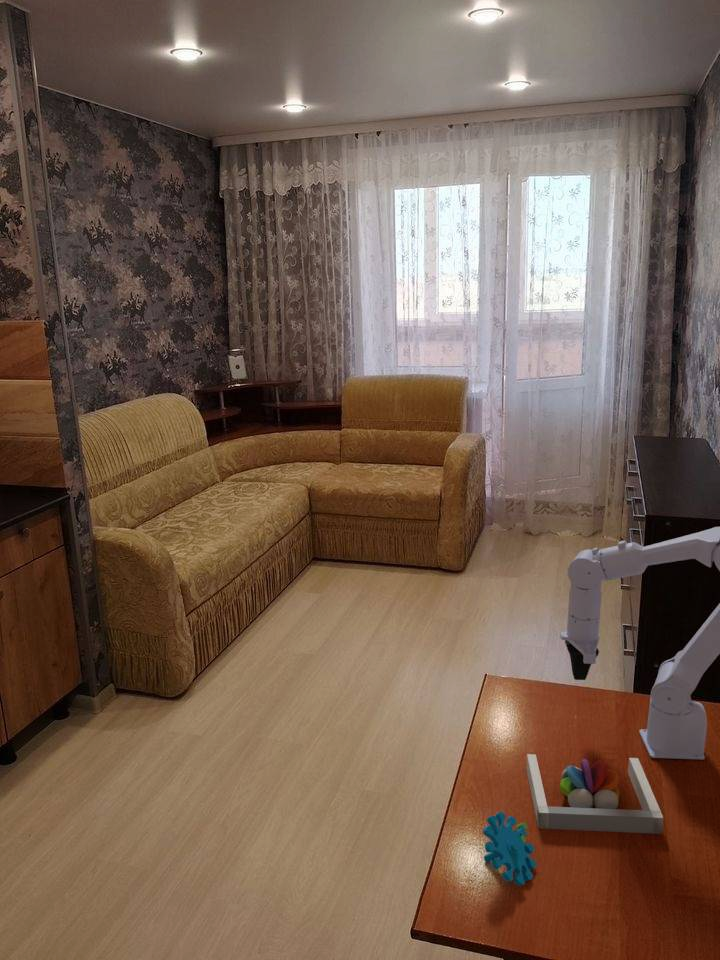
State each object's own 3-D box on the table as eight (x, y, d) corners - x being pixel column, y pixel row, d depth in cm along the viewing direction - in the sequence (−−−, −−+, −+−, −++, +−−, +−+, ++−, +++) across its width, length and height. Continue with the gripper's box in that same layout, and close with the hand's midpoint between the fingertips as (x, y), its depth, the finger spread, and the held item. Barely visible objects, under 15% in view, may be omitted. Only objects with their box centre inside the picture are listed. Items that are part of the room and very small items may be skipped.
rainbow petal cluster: (624, 818, 120) (628, 780, 118) (563, 816, 121) (566, 778, 119) (612, 783, 128) (615, 747, 126) (554, 781, 129) (557, 745, 127)
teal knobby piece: (520, 897, 104) (479, 830, 107) (490, 909, 107) (451, 844, 110) (551, 856, 113) (512, 795, 115) (522, 868, 116) (485, 809, 119)
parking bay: (636, 772, 131) (638, 758, 130) (661, 833, 117) (663, 817, 116) (526, 768, 132) (527, 754, 131) (538, 828, 118) (539, 812, 118)
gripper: (555, 596, 146) (551, 658, 150) (569, 631, 132) (564, 698, 136) (592, 596, 146) (587, 658, 150) (609, 632, 132) (604, 699, 136)
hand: (579, 678), depth 143 cm, fingers closed
